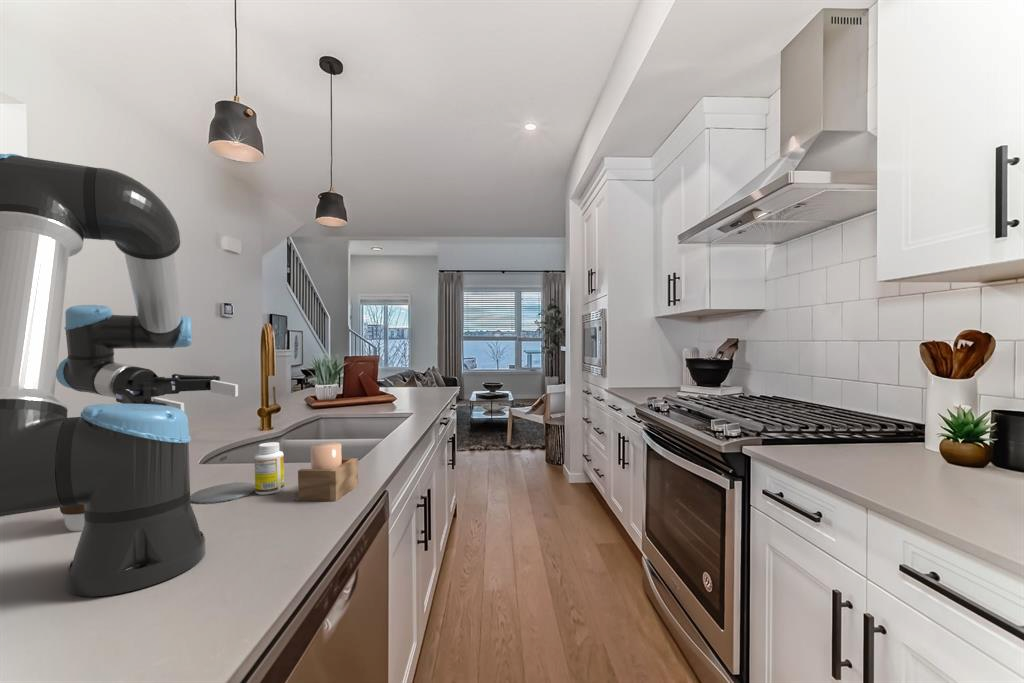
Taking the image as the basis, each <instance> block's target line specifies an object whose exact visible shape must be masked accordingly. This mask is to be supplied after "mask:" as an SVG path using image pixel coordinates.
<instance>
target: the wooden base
mask: <svg viewBox="0 0 1024 683" xmlns="http://www.w3.org/2000/svg"><path fill="white" fill-rule="evenodd" d="M297 483H298V486H297V488H298V489H297V490H298V491H297V492H294V494H293V501H315V502H316V501H318V502H321V501H324V502H328V501H329V502H337V501H338V500H340V499H341V498H342V497H344V496H345V495H346V494H348V493H349V492H351V491H352V490H354V489H355V488H356V487H358V486H359V458H358V457H342V464H341V465H340V466H338V467H336V468H334V469H311V468H300V469H299V470H297Z"/></svg>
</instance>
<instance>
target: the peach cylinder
mask: <svg viewBox="0 0 1024 683" xmlns="http://www.w3.org/2000/svg"><path fill="white" fill-rule="evenodd" d="M342 458H343V456H342V443H340V442H337V441H336V442H335V441H334V442H333V441H332V442H331V441H330V442H329V441H328V442H321V443H317V444H313V445H311V446H310V469H334V468H336V467H338V466H340V465H341V464H342Z"/></svg>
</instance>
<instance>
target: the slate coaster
mask: <svg viewBox="0 0 1024 683" xmlns="http://www.w3.org/2000/svg"><path fill="white" fill-rule="evenodd" d="M254 491H255V483H252V482H231V483H223V484H218V485H213V486H210V487H206V488H203V489H200V490H197V491H195V492H193V493H191V494H190V500H191V501H192V502H191V501H190V502H191V503H193V502H195V503H194V504H199V503H210V504H216V503H215V502H220V503H224V502H223V501H226V502H229V501H228V500H231V501H233V500H232V499H235V500H237V499H236V498H239V499H241V498H240V497H242V498H244V496H245V497H247V496H246V495H248V496H249V494H250V495H251V493H252V494H253V492H254ZM255 492H256V491H255ZM255 492H254V493H255Z"/></svg>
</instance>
